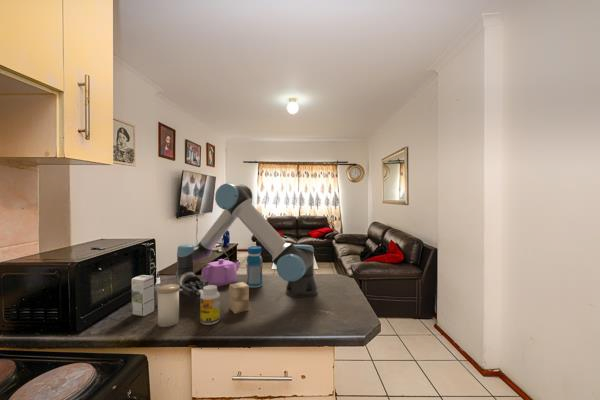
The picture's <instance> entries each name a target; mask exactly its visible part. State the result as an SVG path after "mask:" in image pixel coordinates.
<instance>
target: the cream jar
mask: <svg viewBox="0 0 600 400" xmlns="http://www.w3.org/2000/svg"><path fill="white" fill-rule="evenodd" d="M179 286H180V284H178V283H169V284H164V285H160V286H158V287H157V288H156V292H157V326H158V327H162V328H167V327H172V326H175V325H177V324H178V323H179V322H180V292H179Z"/></svg>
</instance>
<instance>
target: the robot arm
mask: <svg viewBox="0 0 600 400" xmlns="http://www.w3.org/2000/svg"><path fill="white" fill-rule="evenodd" d="M214 195H215V197H214V199H215V203H216V205H217V206H218V208H220V209H222V210H223V211H222V212H221V214H220V215H219V216H218V218H216V220H215V221H214V223H213V224H212V225H211V227H210V228H209V229H208V230H207V232H206V233H205V235H204V236H203V237H202V239H201V240H199V242H198V243H197V245H195V246H194V245H193V244H188V243H187V244H186V243H185V244H180V245H179V246H177V252H176V257H177V259H176V260H177V261H176V263H177V264H176V265H177V266H176V267H177V268H176V270H177V271H176V273H175V279H176V281H177V284H178V283H179V294H180V293H182V294H184V295H186V296H188V297H190V298H192V297H194V299H200V296H201V294H202V293H203V287H205V286H208V285H209V281H207V282H206V281H205V282H204V281H201V278H200V277H198V276H197V275H196V274H195V273H194V272H195V271H194V270H195V269H194V268H195V266H194V265H195V262H198V261H199V260H200V261H201V260H203V259H206V258H208V257H210V256H211V255H212V253H213V249H214V248H215V246H216V245H217V244H218V242H220V240H221V239H222V238H223V236H224V235H225V234H226V232H227V231H228V230H229V229H230V227H231V226H232V225H233V223H234V222H235V221H236V220H237V219H239V220H240V221H241V222H242V224H243V225H244V226H245V227H246V228H247V229H248V231H249V232H250V233H251V234H252V235H253V236H254V237H255V238H256V239H257V241H258V242H260V244H261V245H262V247H264V249H265V250H267V252H268V253H269V254H270V255H271V257H272V259H271V260H272V264H273V265H275V268H276V273H277V274H278V276H279V277H280V278H281V279H282V280H283V281H286V282H287V284H286V286H285V293H286V295H288V296H290V297H295V298H309V297H313V296H316V295H317V293H318V285H317V283H316V280H315V277H314V266H315V265H314V254H315V250H314V249H315V248H314V246H313V245H312V244H311V245H310V244H293V243H292V242H286V240H285V239H284V238H283V237H282V236H281V235H280V234H279V232H277V230H276V229H275V228H274V227H273V226H272V225H271V224H270V223H269V221H268V220H266V218H265V217H264V216H263V215H262V213H260V212H259V210H258V209H257V208H256V207H255V206H254V205H253V193H252V190H251V188H250V187H248V185H245V184H243V183H241V184H239V183H232V182H228V183H223V184H221V185H220V186H219V187H217V189H216V191H215V194H214Z"/></svg>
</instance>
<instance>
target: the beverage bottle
mask: <svg viewBox="0 0 600 400" xmlns="http://www.w3.org/2000/svg"><path fill="white" fill-rule="evenodd" d="M261 253H262V246H259V245H258V246H257V245H253V246H249V247H248V248H247V254H248V255H247V258H246V265H245V266H246V267H245V268H246V284H247V285H248V286H249V288H250V289H251V288H260V287H262V286H263V267H264V266H263V265H264V264H263V257H262V255H261Z"/></svg>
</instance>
